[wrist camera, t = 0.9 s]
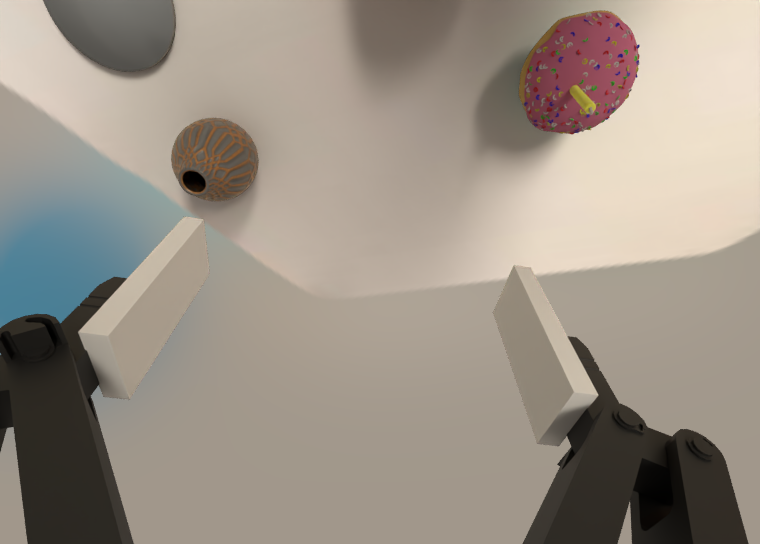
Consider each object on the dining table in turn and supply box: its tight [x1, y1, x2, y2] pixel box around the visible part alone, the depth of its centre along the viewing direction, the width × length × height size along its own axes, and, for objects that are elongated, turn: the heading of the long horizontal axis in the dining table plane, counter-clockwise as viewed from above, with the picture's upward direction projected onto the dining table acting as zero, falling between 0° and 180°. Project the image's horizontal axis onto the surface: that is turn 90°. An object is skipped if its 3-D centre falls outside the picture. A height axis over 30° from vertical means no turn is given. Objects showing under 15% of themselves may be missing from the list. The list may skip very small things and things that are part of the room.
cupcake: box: [519, 11, 639, 134], centre depth 29 cm, size 9×8×12 cm
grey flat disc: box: [43, 0, 176, 72], centre depth 31 cm, size 10×10×1 cm
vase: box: [171, 118, 258, 201], centre depth 34 cm, size 7×7×9 cm
